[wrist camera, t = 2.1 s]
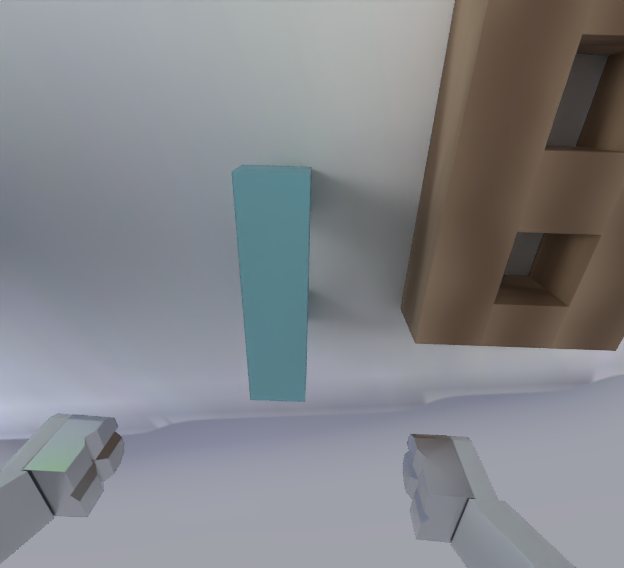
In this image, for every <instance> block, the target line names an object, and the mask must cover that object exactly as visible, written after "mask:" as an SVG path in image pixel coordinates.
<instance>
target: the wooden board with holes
mask: <svg viewBox="0 0 624 568" xmlns="http://www.w3.org/2000/svg"><path fill="white" fill-rule="evenodd" d="M576 54H583V55H609V58H608V61H607V63H606V66H605V69H604V72H603V74H602V77H601V80H600V82H599V85H598V88H597V91H596V93H595V96H594V99H593V101H592V104H591V107H590V110H589V112H588V115H587V118H586V120H585V123H584V126H583V129H582V131H581V134H580V137H579V139H578V142H577V145H576V147H573V146H546V144H547V141H548V137H549V134H550V131H551V128H552V125H553V122H554V119H555V116H556V113H557V110H558V107H559V104H560V101H561V98H562V95H563V92H564V89H565V86H566V83H567V80H568V77H569V74H570V71H571V67H572V64H573V61H574V58H575V55H576ZM517 232H529V233H544V235H543V237H542V240H541V243H540V245H539V248H538V251H537V254H536V256H535V259H534V262H533V265H532V267H531V270H530V273H529V275H528V276H515V275H504V271H505V268H506V265H507V262H508V259H509V256H510V253H511V250H512V247H513V244H514V241H515V238H516V235H517ZM401 311H402V313H403V316H404V318H405V320H406V323H407V325H408V327H409V330H410V332H411V335H412V337H413V339H414V342H415V343H420V344H447V345H474V346H502V347H529V348H556V349H584V350H611V351H616V349H617V348H618V346H619V344H620V342H621V341H622V339H623V337H624V0H455V5H454V11H453V16H452V22H451V28H450V33H449V39H448V44H447V50H446V56H445V61H444V67H443V73H442V78H441V84H440V89H439V95H438V101H437V106H436V112H435V118H434V123H433V129H432V135H431V140H430V146H429V151H428V157H427V163H426V168H425V174H424V180H423V185H422V191H421V196H420V202H419V208H418V213H417V219H416V225H415V230H414V236H413V242H412V247H411V253H410V258H409V264H408V270H407V275H406V281H405V287H404V292H403V298H402V304H401Z"/></svg>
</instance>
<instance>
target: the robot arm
mask: <svg viewBox="0 0 624 568" xmlns="http://www.w3.org/2000/svg"><path fill="white" fill-rule="evenodd" d="M117 427H118V425H117V422H116V420H115V418H110V417H99V416H87V415H76V414H61V413H58V414H56V415H54V416H52V417H50V418H49V419H48V420H47V421H46V422H45V423H44V424H43V425H42V426H41V428H40V429H39V430H38V431H37V432H36V433H35V434H34V435H33V436H32V437H31V438H30V439H29V440H28V441H27V442H26V443H25V444H24V445H23V446H22V448H20V450H19V451H18V452H17V453H16V454H15V455H14V456H13V457H12V458H11V459H10V460H9V461H8V462H7V463H6V464H5V465H4V466H3V468H2V469H0V564H1V563H2V562H3V561H4V560H6V559H7V558H8V557H9V556H10V555H11V554H13V553H14V552H15V551H16V550H17V549H19V547H21V546H22V545H23V544H24V543H26V542H27V541H28V540H29V539H30V538H31V537H33V536H34V535H35V534H36V533H37V532H39V531H40V530H41V529H42V528H43V527H44V526H45V525H47V524H48V523H49V522H50V521H52V520H53V519H54V516H67V517H68V516H69V517H88V516H89V514H90V512H91V511H92V509H93V507H94V506H95V504H96V502H97V501H98V499H99V498H100V496H101V494H102V493H103V491H104V483H103V482H104V481H105V480H106V479H108V478H109V477H110V476H112V475H113V474H114V473H115V471H116V470H117V468H118V466H119V465H120V463H121V459H122V456H123V453H124V442H123V439H122V437H121V436H120V435H119V434H117V433H116V432H115V430H116V429H117ZM407 444H408V449H409V451H408V452H407V453H405V455H404V460H403V478H404V485H405V489H406V493H407V494H408V495H409V496H410V497H411V498H412V504H411V507H410V513H411V518H412V523H413V527H414V532H415V536H416V539H418V540H429V541H439V542H449V543H451V546H452V547H453V549H454V550H455V551H456V553H457V554H458V556H459V557H460V558H461V560H462V561H463V563H464V564H465V565H466V567H467V568H576V567H575V566H574V565H573V564H571V563H570V562H569V561H568V560H567V559H566V558H565V557H564V556H563V555H562V554H561V553H560V552H559V551H558V550H557V549H556V548H554V547H553V546H552V545H551V544H550V543H549V542H548V541H547V540H546V539H545V538H544V537H543V536H542V535H541V534H539V533H538V532H537V531H536V530H535V529H534V528H533V527H532V526H531V525H530V524H529V523H528V522H527V521H526V520H525V519H524V518H523V517H521V516H520V515H519V514H518V513H517V512H516V511H515V510H514V509H513V508H512V507H511V506H510V505H508V503H507V502H505V501H499V500H498V498H497V495H496V493H495V491H494V489H493V487H492V485H491V482H490V480H489V478H488V476H487V474H486V471H485V469H484V467H483V465H482V463H481V461H480V458H479V456H478V454H477V452H476V450H475V447H474V446H473V443H472V441H471V440H470V439H469V438H468V437H456V436H447V435H446V436H445V435H424V434H411V435H410V436H409V438H408V442H407Z"/></svg>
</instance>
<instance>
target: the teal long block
mask: <svg viewBox="0 0 624 568" xmlns="http://www.w3.org/2000/svg"><path fill="white" fill-rule="evenodd" d="M232 181H233V193H234V205H235V217H236V230H237V242H238V254H239V266H240V279H241V291H242V303H243V315H244V327H245V340H246V352H247V364H248V376H249V389H250V400H271V401H297V402H305V389H306V364H307V324H308V284H309V244H310V204H311V167H289V166H258V165H242V166H240V167H239V168H237V169H235V170H234V171H232Z"/></svg>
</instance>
